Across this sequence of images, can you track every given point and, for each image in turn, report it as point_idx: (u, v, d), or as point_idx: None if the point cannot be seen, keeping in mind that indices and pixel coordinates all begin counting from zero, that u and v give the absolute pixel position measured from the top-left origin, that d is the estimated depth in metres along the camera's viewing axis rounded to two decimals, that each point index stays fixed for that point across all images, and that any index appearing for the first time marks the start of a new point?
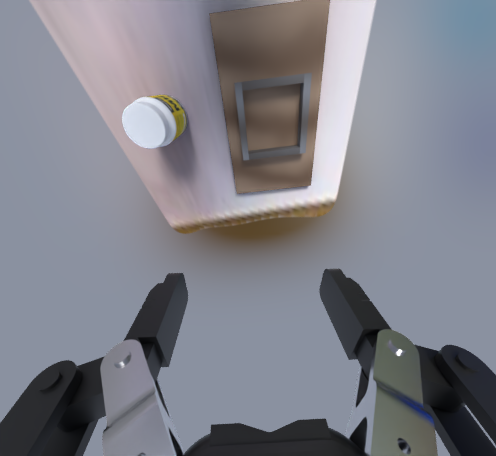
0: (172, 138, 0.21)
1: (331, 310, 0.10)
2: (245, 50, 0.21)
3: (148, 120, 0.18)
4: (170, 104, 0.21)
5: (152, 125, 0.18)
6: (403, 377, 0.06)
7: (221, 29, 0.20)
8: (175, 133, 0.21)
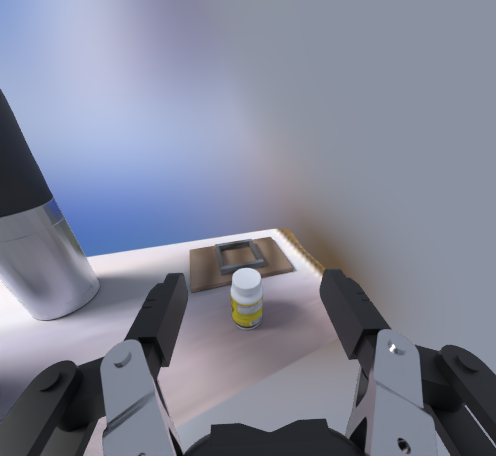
0: None
1: (331, 310, 0.10)
2: (206, 272, 0.37)
3: (241, 275, 0.26)
4: None
5: (244, 273, 0.26)
6: (403, 377, 0.06)
7: (197, 283, 0.35)
8: None
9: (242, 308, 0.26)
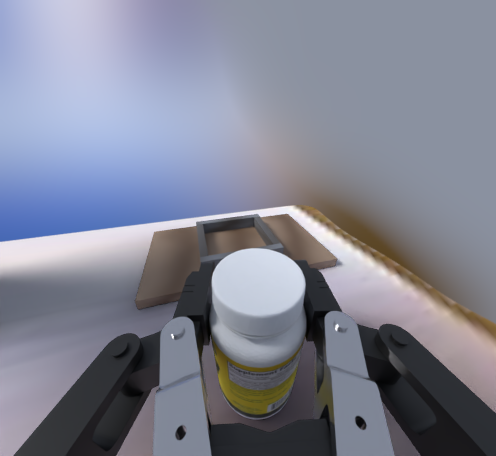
0: None
1: None
2: (174, 268, 0.19)
3: (243, 267, 0.09)
4: None
5: (250, 262, 0.09)
6: (349, 353, 0.06)
7: (152, 289, 0.17)
8: None
9: (244, 375, 0.08)
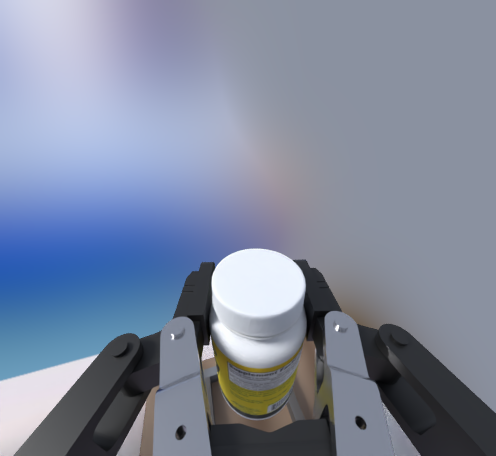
0: None
1: None
2: None
3: (243, 267, 0.09)
4: None
5: (250, 262, 0.09)
6: (349, 353, 0.06)
7: None
8: None
9: (244, 376, 0.08)
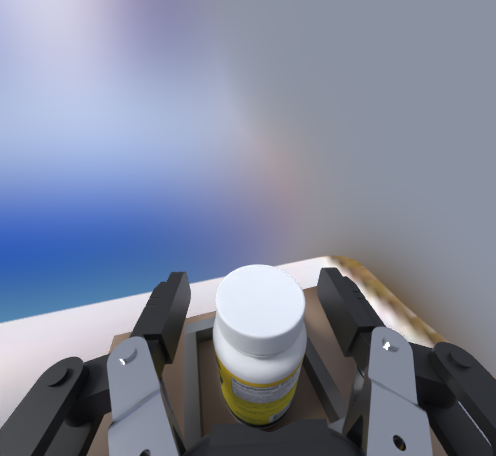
0: None
1: (328, 308, 0.10)
2: None
3: (245, 285, 0.09)
4: None
5: (252, 279, 0.09)
6: (397, 373, 0.06)
7: None
8: None
9: (247, 390, 0.08)
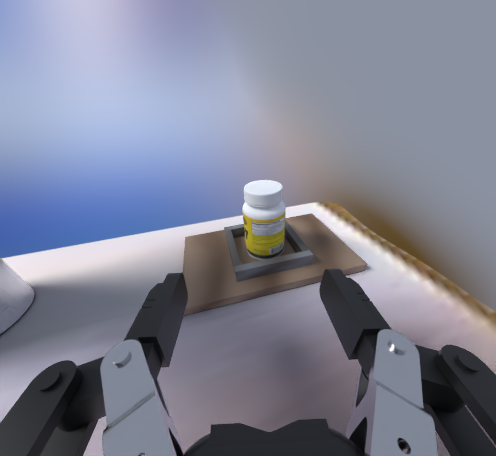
0: None
1: (331, 310, 0.10)
2: (210, 276, 0.21)
3: (256, 185, 0.20)
4: None
5: (259, 183, 0.20)
6: (403, 377, 0.06)
7: (193, 297, 0.19)
8: None
9: (258, 226, 0.19)
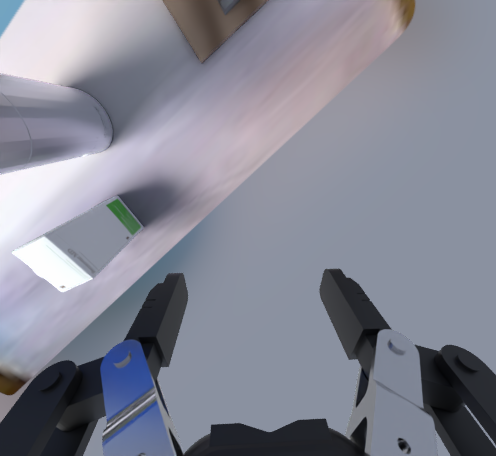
0: None
1: (331, 310, 0.10)
2: (201, 16, 0.25)
3: None
4: None
5: None
6: (403, 377, 0.06)
7: (202, 47, 0.26)
8: None
9: None
